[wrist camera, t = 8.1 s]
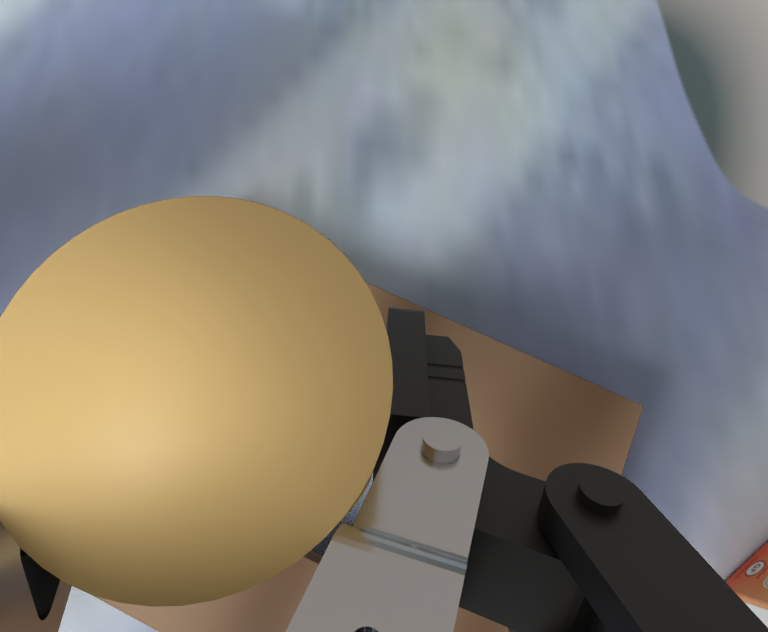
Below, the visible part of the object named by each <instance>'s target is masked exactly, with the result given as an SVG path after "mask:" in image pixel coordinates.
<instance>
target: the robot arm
mask: <svg viewBox="0 0 768 632" xmlns="http://www.w3.org/2000/svg"><path fill="white" fill-rule="evenodd" d="M386 331H387V335H388V339H389V345H390V351H391V357H392V369H393V393H392V403H391V412H390V418H389V422H388V426H387V430H386V434H385V439H384V443H383V445H382V448H381V451H380V454H379V457H378V459H377V462H376V465H375V468H374V472H373V483H372V486H371V488H370V490H369V492H368V494H367V496H366V499H365V501H364V503H363V505H362V507H361V509H360V511H359V514H358V516H357V518H356V520H355V522H354V524H353V525H350V524H346V523H343V524H341V525H340V526H339V528H338V529H337V530H336V532H335V534H334V535H333V537H332V539H331V541H330V543H329V545H328V547H327V549H326V551H325V553H324V555H323V557H322V559H321V561H320V563H319V565H318V567H317V569H316V571H315V573H314V575H313V577H312V579H311V581H310V583H309V585H308V587H307V590H306V592H305V594H304V596H303V598H302V600H301V602H300V604H299V606H298V608H297V610H296V612H295V614H294V616H293V618H292V620H291V622H290V624H289V626H288V628H287V630H286V632H453V631H454V626H455V621H456V616H457V611H458V607H460V608H463V609H465V610H468V611H470V612H472V613H475V614H477V615H479V616H482V617H484V618H487V619H489V620H491V621H494V622H496V623H499V624H501V625H503V626H506V627H508V630H509V632H768V627H767V626H766V625H765V624H764V623H763V622H762V621H761V620H760V619H759V618H758V617H757V616H756V615H755V613H754V612H753V611H752V610H751V609H750V608H749V607H748V606H747V605H746V604H745V603H744V602H743V601H742V599H741V598H740V597H739V596H738V595H737V594H736V593H735V592H734V591H733V590H732V589H731V588H730V586H729V585H728V584H727V583H726V582H725V581H724V580H723V579H722V578H721V577H720V576H719V575H718V574H717V572H716V571H715V570H714V569H713V568H712V567H711V566H710V565H709V564H708V563H707V562H706V561H705V559H704V558H703V557H702V556H701V555H700V554H699V553H698V552H697V551H696V550H695V549H694V548H693V547H692V545H691V544H690V543H689V542H688V541H687V540H686V539H685V538H684V537H683V536H682V535H681V534H680V532H679V531H678V530H677V529H676V528H675V527H674V526H673V525H672V524H671V523H670V522H669V521H668V520H667V518H666V517H665V516H664V515H663V514H662V513H661V512H660V511H659V510H658V509H657V508H656V507H655V506H654V504H653V503H652V502H651V501H650V500H649V499H648V498H647V497H646V496H645V495H644V494H643V493H642V491H641V490H639V489H638V488H637V487H636V486H635V485H634V484H633V483H631V482H630V481H629V480H628V479H626V478H624V477H623V476H621V475H620V474H618V473H616V472H613V471H611V470H609V469H606V468H604V467H601V466H597V465H593V464H587V463H568V464H564V465H561V466H559V467H557V468H555V469H554V470H553V471H551V473H550V474H549V475H548V477H547V480H546V481H543V480H540V479H537V478H534V477H531V476H528V475H525V474H522V473H519V472H516V471H514V470H511V469H509V468H507V467H505V466H503V465H501V464H500V463H498V462H496V461H495V460H494V459H492V458H491V457H490V456H489V452H488V448H487V445H486V443H485V442H484V440H483V439H482V437H481V436H480V435H479V434H478V433H477V432H475V431H474V429H473V423H472V417H471V410H470V404H469V398H468V392H467V386H466V383H465V373H464V370H463V361H462V355H461V351H460V350H459V348H458V347H457V346H456V345H455V344H454V343H453V342H452V340H451V339H450V338H449V337H447V336H436V335H426V332H425V313H424V310H414V309H404V308H394V307H389V309H388V318H387V327H386ZM70 590H71V585H69V584H67V583H65V582H63V581H62V580H60V579H59V578H57V577H56V576H54V575H53V574H51V573H50V572H48V571H47V570H45V569H44V568H42V567H41V566H40V565H39V564H38V563H37V562H35V561H34V560H33V559H32V558H31V557H30V556H29V555H28V554H27V553H26V552H24V551H23V550H22V549H21V548H20V546H19V545H18V544H17V543H16V541H15V540H14V539H13V538H12V536H11V535H10V534H9V533H8V531H7V530H6V529H5V528H4V526H3V525H2V523H1V521H0V632H58V630H59V626H60V623H61V620H62V616H63V613H64V610H65V606H66V603H67V600H68V596H69V593H70Z"/></svg>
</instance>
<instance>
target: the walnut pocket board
mask: <svg viewBox="0 0 768 632" xmlns="http://www.w3.org/2000/svg"><path fill="white" fill-rule="evenodd" d="M365 283H366V282H365ZM366 284H367V286H368V287H369V289H370V291H371V293H372V295H373V297H374V299H375V301H376V303H377V306H378V308H379V310H380V312H381V315H382V318H383V321H384V325H385V328H386V327H387V318H388V309H389V307H394V308H404V309H414V310H424V313H425V332H426V335H436V336H447V337H449V338H450V339H451V340H452V342H453V343H454V344H455V345H456V346H457V347H458V348H459V350H460V351H461V355H462V361H463V370H464V373H465V383H466V386H467V392H468V398H469V404H470V410H471V417H472V423H473V429H474V431H475V432H477V433H478V434H479V435H480V436H481V437H482V439H483V440H484V442H485V443H486V445H487V448H488V452H489V456H490V457H491V458H492V459H494V460H495V461H496V462H498V463H500V464H501V465H503V466H505V467H507V468H509V469H511V470H514V471H516V472H519V473H522V474H525V475H528V476H531V477H534V478H537V479H540V480H543V481H546V480H547V477H548V475H549V474H550V473H551V471H553V470H554V469H555V468H557V467H559V466H561V465H564V464H568V463H587V464H593V465H597V466H601V467H604V468H606V469H609V470H611V471H613V472H616V473H618V474H620V475H622V472H623V469H624V465H625V462H626V459H627V456H628V453H629V450H630V446H631V443H632V440H633V437H634V434H635V431H636V428H637V424H638V421H639V418H640V415H641V412H642V409H643V406H642V405H640V404H638V403H635V402H633V401H631V400H629V399H627V398H624V397H622V396H620V395H618V394H615V393H613V392H611V391H609V390H606V389H604V388H602V387H600V386H597V385H595V384H593V383H591V382H588V381H586V380H584V379H582V378H579V377H577V376H575V375H573V374H570V373H568V372H566V371H564V370H561V369H559V368H557V367H555V366H553V365H550V364H548V363H546V362H544V361H541V360H539V359H537V358H535V357H532V356H530V355H528V354H526V353H523V352H521V351H519V350H517V349H514V348H512V347H510V346H508V345H505V344H503V343H501V342H499V341H496V340H494V339H492V338H490V337H488V336H485V335H483V334H481V333H479V332H476V331H474V330H472V329H470V328H467V327H465V326H463V325H461V324H458V323H456V322H454V321H452V320H449V319H447V318H445V317H443V316H440V315H438V314H436V313H434V312H431V311H429V310H427V309H425V308H422V307H420V306H418V305H416V304H414V303H411V302H409V301H407V300H405V299H402V298H400V297H398V296H396V295H393V294H391V293H389V292H387V291H384V290H382V289H380V288H378V287H375V286H373V285H371V284H369V283H366ZM322 557H323V556H322V555H320V554H318V553H316V552H314V551H312V550H311V551H309V552H308V553H307V554H306V555H305V556H303V557H302V558H301V559H300V560H299V561H297V562H296V563H294V564H293V565H291V566H289V567H288V568H286V569H285V570H283V571H282V572H280V573H278V574H277V575H275V576H274V577H272V578H270V579H268V580H266V581H264V582H262V583H260V584H258V585H255V586H253V587H251V588H249V589H247V590H245V591H242V592H239V593H236V594H233V595H230V596H226V597H223V598H220V599H217V600H214V601H208V602H202V603H197V604H191V605H185V606H160V607H150V606H141V605H133V604H125V603H119V602H116V601H112V600H108V599H105V598H101V597H97V596H95V597H97V598H98V599H100V600H102V601H104V602H106V603H108V604H109V605H111V606H113V607H115V608H117V609H119V610H120V611H122V612H124V613H126V614H128V615H130V616H131V617H133V618H135V619H137V620H139V621H141V622H142V623H144V624H146V625H148V626H150V627H152V628H153V629H155V630H157V631H159V632H286V630H287V628H288V626H289V624H290V622H291V620H292V618H293V616H294V614H295V612H296V610H297V608H298V606H299V604H300V602H301V600H302V598H303V596H304V594H305V592H306V590H307V587H308V585H309V583H310V581H311V579H312V577H313V575H314V573H315V571H316V569H317V567H318V565H319V563H320V561H321V559H322ZM93 596H94V595H93ZM453 632H509V630H508V627H506V626H503V625H501V624H499V623H496V622H494V621H491V620H489V619H487V618H484V617H482V616H479V615H477V614H475V613H472V612H470V611H468V610H465V609H463V608H460V607H458V611H457V616H456V621H455V626H454V631H453Z"/></svg>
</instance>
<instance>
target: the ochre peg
mask: <svg viewBox="0 0 768 632" xmlns="http://www.w3.org/2000/svg"><path fill="white" fill-rule="evenodd" d="M392 393H393V369H392V357H391V351H390V345H389V339H388V335H387V331H386V328H385V325H384V321H383V318H382V315H381V312H380V310H379V308H378V306H377V303H376V301H375V299H374V297H373V295H372V293H371V291H370V289H369V287H368V286H367V284H366V283H365V281H364V280H363V278H362V276H361V275H360V273H359V272H358V270H357V269H356V268H355V267H354V266H353V264H352V263H351V262H350V261H349V260H348V258H347V257H346V256H345V255H344V254H343V253H342V252H341V251H340V250H339V249H338V248H337V247H336V246H335V245H334V244H333V243H331V242H330V241H329V240H328V239H327V238H326V237H325V236H323V235H322V234H320V233H319V232H317V231H316V230H315V229H313V228H312V227H310V226H309V225H307V224H306V223H304V222H302V221H300V220H298V219H296V218H294V217H292V216H291V215H289V214H287V213H285V212H282V211H279V210H276V209H274V208H271V207H268V206H266V205H263V204H259V203H254V202H250V201H246V200H242V199H235V198H226V197H218V196H190V197H182V198H173V199H166V200H161V201H157V202H153V203H148V204H144V205H141V206H138V207H135V208H132V209H129V210H126V211H123V212H120V213H118V214H116V215H114V216H112V217H109V218H107V219H105V220H103V221H101V222H99V223H97V224H95V225H93V226H92V227H90V228H88V229H87V230H85V231H83V232H82V233H80V234H79V235H77V236H75V237H74V238H72V239H71V240H70V241H68V242H67V243H66V244H65V245H63V246H62V247H61V248H59V249H58V250H57V251H56V252H54V253H53V254H52V255H51V256H50V257H49V258H48V259H47V260H46V261H45V262H44V263H42V264H41V265H40V266H39V267H38V268H37V269H36V270H35V271H34V272H33V273H32V274H31V276H30V277H29V278H28V279H27V281H26V282H25V283H24V284H23V285H22V287H21V288H20V289H19V290H18V292H17V293H16V294H15V296H14V297H13V299H12V300H11V302H10V303H9V305H8V306H7V308H6V309H5V311H4V313H3V314H2V316H1V317H0V521H1V523H2V525H3V526H4V528H5V529H6V530H7V531H8V533H9V534H10V535H11V536H12V538H13V539H14V540H15V541H16V543H17V544H18V545H19V546H20V548H21V549H22V550H23V551H24V552H26V553H27V554H28V555H29V556H30V557H31V558H32V559H33V560H34V561H35V562H37V563H38V564H39V565H40V566H41V567H42V568H44V569H45V570H47V571H48V572H50V573H51V574H53V575H54V576H56V577H57V578H59V579H60V580H62V581H63V582H65V583H67V584H69V585H71V586H73V587H76V588H78V589H80V590H82V591H85V592H87V593H89V594H91V595H94V596H97V597H101V598H105V599H108V600H112V601H116V602H119V603H125V604H133V605H141V606H150V607H160V606H185V605H191V604H197V603H202V602H208V601H214V600H217V599H220V598H223V597H226V596H230V595H233V594H236V593H239V592H242V591H245V590H247V589H249V588H251V587H253V586H255V585H258V584H260V583H262V582H264V581H266V580H268V579H270V578H272V577H274V576H275V575H277V574H278V573H280V572H282V571H283V570H285V569H286V568H288V567H289V566H291V565H293V564H294V563H296V562H297V561H299V560H300V559H301V558H302V557H303V556H305V555H306V554H307V553H308V552H309V551H311V550H312V549H313V548H314V547H315V546H316V545H318V544H319V543H320V542H321V541H322V540H323V539H324V538H325V537H326V536H327V535H328V534H329V533H330V532H331V531H332V530H333V528H334V527H335V526H336V525H337V524H338V523H339V522H340V521H341V520H342V519H343V518H344V517H345V516H346V515H347V513H348V512H349V511H350V510H351V509H352V508H353V507H354V506H355V505H356V504H357V502H358V501H359V500H360V498H361V497H362V495H363V494H364V492H365V490H366V488H367V486H368V484H369V481H370V479H371V476H372V473H373V471H374V468H375V465H376V462H377V459H378V457H379V454H380V451H381V448H382V445H383V443H384V439H385V434H386V430H387V426H388V422H389V418H390V412H391V403H392Z"/></svg>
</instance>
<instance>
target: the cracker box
mask: <svg viewBox="0 0 768 632" xmlns="http://www.w3.org/2000/svg"><path fill="white" fill-rule="evenodd" d="M726 583H727V584H728V585H729V586H730V588H731V589H732V590H733V591H734V592H735V593H736V594H737V595H738V596H739V597H740V598H741V599H742V601H743V602H744V603H745V604H746V605H747V606H748V607H749V608H750V609H751V610H752V611H753V612H754V613H755V615H756V616H757V617H758V618H759V619H760V620H761V621H762V622H763V623H764V624H765V625H766V626H767V627H768V542H767V543H766V544H765V545H764V546H763V547H762V548H761V549H760V550H758V551H757V552H756V553H755V554H754V555H753V556H752V557H751V558H750V559H749V560H748V561H747V562H746V563H744V564H743V565H742V566H741V567H740V568H739V569H738V570H737V571H736V572H735V573H734V574H733V575H732V576H731V577H730V578H729V579H728V580H727V581H726Z"/></svg>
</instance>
